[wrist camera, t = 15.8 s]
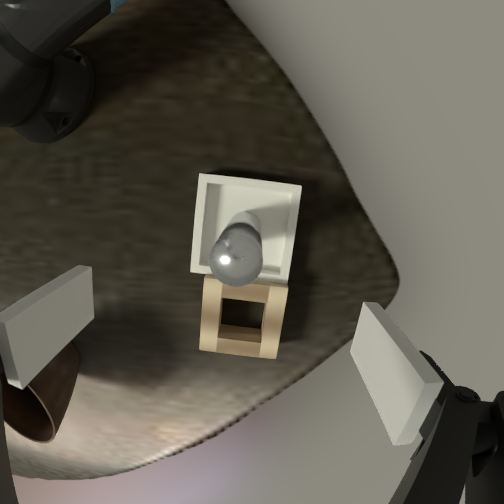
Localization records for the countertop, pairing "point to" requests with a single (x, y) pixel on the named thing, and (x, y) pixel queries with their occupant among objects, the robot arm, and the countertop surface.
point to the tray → (254, 201)
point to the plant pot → (42, 397)
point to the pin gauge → (238, 251)
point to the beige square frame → (238, 337)
